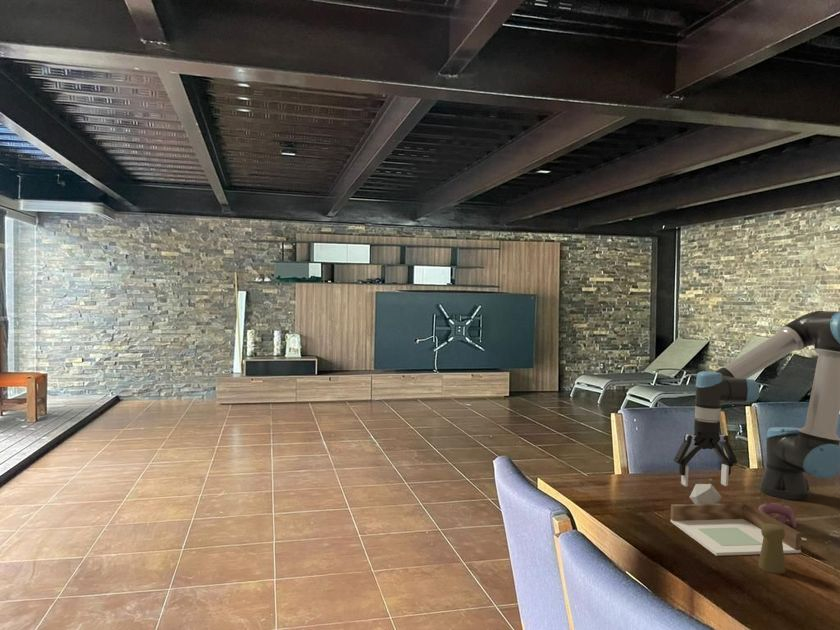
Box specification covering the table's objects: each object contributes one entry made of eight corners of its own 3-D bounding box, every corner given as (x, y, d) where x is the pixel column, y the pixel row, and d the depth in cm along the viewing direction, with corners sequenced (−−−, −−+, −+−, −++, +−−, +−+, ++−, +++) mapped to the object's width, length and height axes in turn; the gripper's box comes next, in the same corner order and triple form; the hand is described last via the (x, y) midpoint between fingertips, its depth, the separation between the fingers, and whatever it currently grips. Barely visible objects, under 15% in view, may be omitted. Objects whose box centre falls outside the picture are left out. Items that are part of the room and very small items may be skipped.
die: (718, 517, 190) (729, 490, 193) (692, 502, 191) (704, 475, 194) (705, 517, 198) (717, 491, 201) (681, 503, 199) (693, 477, 202)
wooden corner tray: (744, 519, 187) (745, 502, 187) (800, 552, 163) (801, 533, 163) (670, 521, 185) (670, 504, 184) (716, 555, 161) (716, 536, 161)
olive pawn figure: (753, 563, 156) (754, 521, 156) (775, 562, 157) (776, 520, 157) (768, 574, 150) (769, 530, 150) (791, 573, 151) (792, 529, 151)
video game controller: (794, 529, 183) (792, 505, 186) (798, 527, 179) (795, 503, 182) (757, 525, 186) (756, 502, 189) (760, 523, 182) (758, 499, 185)
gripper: (736, 417, 200) (733, 481, 201) (664, 417, 198) (661, 481, 198) (751, 422, 193) (748, 488, 193) (676, 422, 190) (673, 488, 191)
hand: (704, 485), depth 196 cm, fingers open, 13 cm apart
